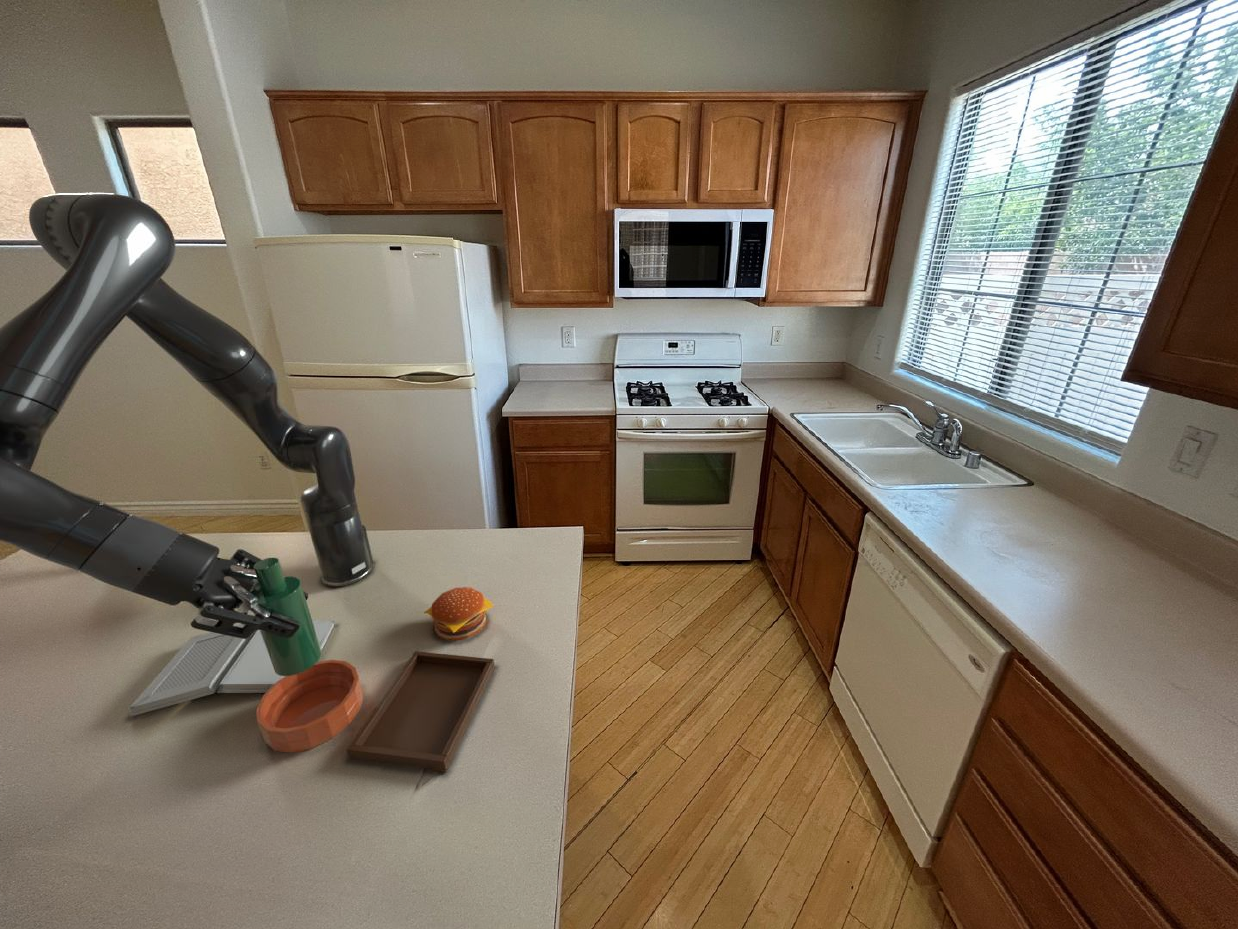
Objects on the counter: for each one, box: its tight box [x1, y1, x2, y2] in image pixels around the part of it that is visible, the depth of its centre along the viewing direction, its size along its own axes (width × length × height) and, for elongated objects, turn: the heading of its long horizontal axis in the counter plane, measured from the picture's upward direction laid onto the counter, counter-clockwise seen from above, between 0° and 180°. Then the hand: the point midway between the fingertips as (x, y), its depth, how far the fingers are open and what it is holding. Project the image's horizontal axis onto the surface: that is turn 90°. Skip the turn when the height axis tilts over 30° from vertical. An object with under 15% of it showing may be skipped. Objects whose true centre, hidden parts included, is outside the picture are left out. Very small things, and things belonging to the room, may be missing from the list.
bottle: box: [250, 557, 323, 676], centre depth 63 cm, size 6×6×16 cm
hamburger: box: [423, 586, 495, 641], centre depth 86 cm, size 9×10×7 cm
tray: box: [346, 650, 496, 773], centre depth 70 cm, size 18×14×2 cm
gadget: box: [128, 620, 335, 717], centre depth 77 cm, size 23×15×4 cm, turn 102°
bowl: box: [255, 659, 365, 754], centre depth 69 cm, size 12×12×4 cm
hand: (300, 615), depth 64 cm, fingers closed on bottle, 5 cm apart
